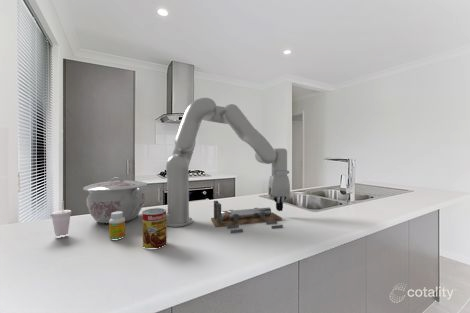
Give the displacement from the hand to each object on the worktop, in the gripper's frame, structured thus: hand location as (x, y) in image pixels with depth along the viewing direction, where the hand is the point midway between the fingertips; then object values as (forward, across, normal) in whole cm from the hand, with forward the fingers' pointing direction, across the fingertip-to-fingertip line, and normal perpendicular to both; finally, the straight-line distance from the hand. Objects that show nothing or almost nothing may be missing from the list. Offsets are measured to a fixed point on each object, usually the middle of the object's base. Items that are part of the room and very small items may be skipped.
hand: (279, 210), depth 111 cm
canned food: (+4, +57, +17) cm, 60 cm away
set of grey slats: (+3, +17, +11) cm, 21 cm away
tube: (+2, +17, 0) cm, 17 cm away
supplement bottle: (+4, +71, +6) cm, 72 cm away
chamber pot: (+4, +76, -20) cm, 79 cm away
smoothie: (+4, +92, -2) cm, 92 cm away
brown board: (+3, +17, 0) cm, 18 cm away
